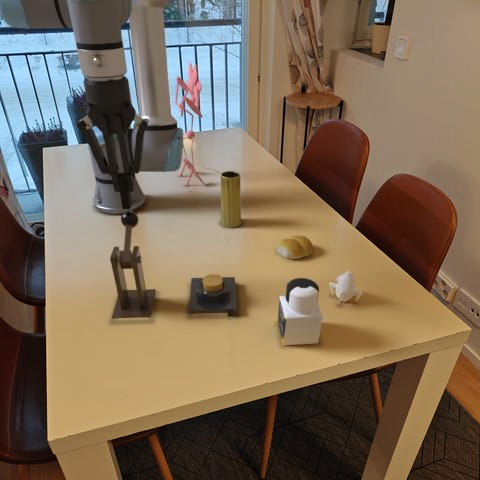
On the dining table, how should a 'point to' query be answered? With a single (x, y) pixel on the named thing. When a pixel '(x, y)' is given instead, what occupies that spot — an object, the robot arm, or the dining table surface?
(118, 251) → the lever bracket
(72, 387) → the dining table surface
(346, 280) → the rocket toy
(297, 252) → the bread roll
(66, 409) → the dining table surface
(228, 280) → the button base
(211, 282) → the tan short cylinder
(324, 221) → the dining table surface
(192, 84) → the figurine
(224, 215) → the vase
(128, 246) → the flush lever
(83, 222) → the dining table surface
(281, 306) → the medicine bottle
